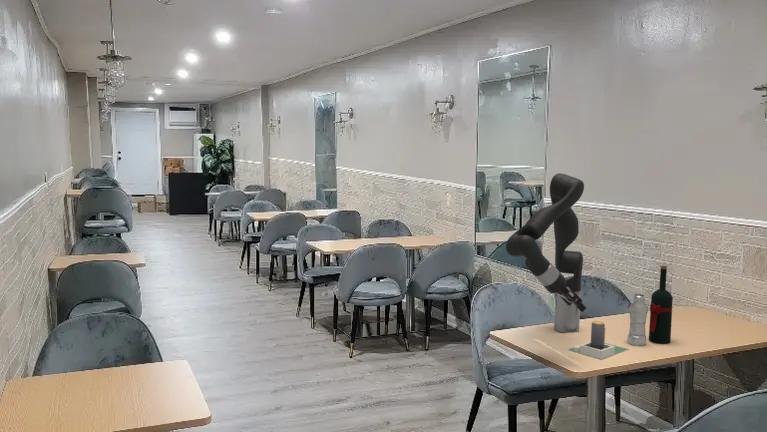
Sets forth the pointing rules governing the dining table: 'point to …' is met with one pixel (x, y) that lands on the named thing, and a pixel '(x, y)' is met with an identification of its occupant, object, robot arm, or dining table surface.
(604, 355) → the board
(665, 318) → the wine bottle
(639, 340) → the plastic bottle
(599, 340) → the dark grey cylinder
